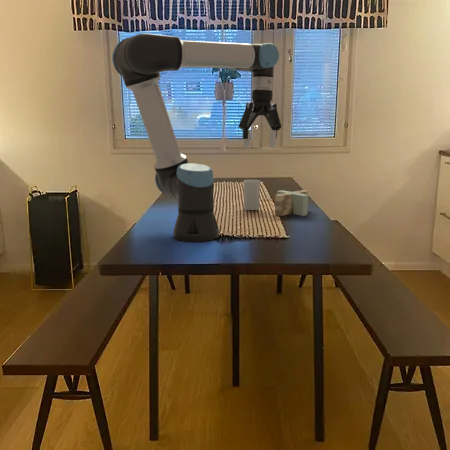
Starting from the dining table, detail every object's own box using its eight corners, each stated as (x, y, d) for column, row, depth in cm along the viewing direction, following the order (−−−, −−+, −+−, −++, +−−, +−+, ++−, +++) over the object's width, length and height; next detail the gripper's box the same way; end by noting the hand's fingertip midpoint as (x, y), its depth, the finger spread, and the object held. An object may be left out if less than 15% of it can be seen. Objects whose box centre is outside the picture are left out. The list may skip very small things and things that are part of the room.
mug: (259, 211, 190) (259, 182, 187) (242, 210, 191) (242, 182, 188) (260, 206, 200) (260, 178, 197) (244, 205, 200) (245, 178, 197)
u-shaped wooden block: (280, 216, 181) (281, 195, 179) (275, 214, 184) (275, 194, 182) (307, 210, 191) (308, 191, 189) (301, 208, 194) (302, 190, 192)
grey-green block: (302, 216, 181) (303, 195, 179) (276, 210, 192) (277, 191, 190) (307, 214, 183) (308, 194, 181) (281, 209, 194) (282, 190, 192)
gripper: (244, 87, 161) (242, 149, 166) (292, 91, 177) (289, 147, 181) (230, 87, 166) (228, 147, 171) (278, 91, 182) (275, 146, 187)
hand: (259, 147), depth 176 cm, fingers open, 13 cm apart
